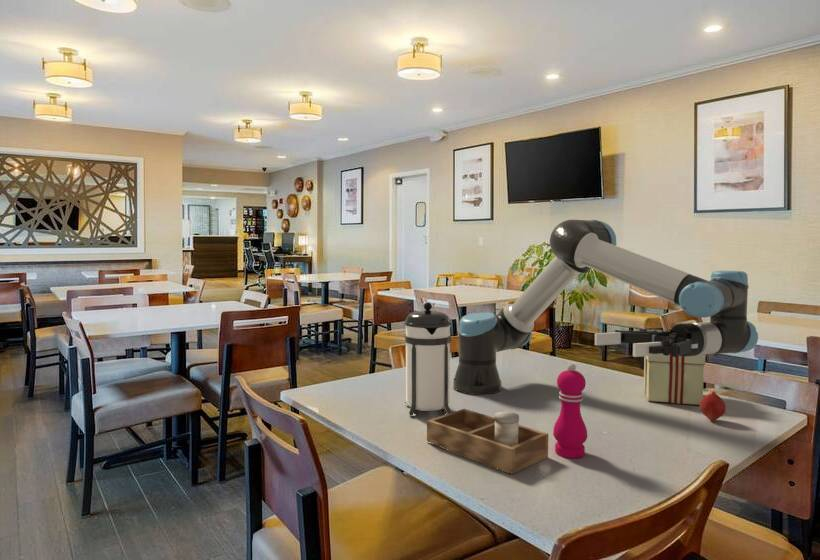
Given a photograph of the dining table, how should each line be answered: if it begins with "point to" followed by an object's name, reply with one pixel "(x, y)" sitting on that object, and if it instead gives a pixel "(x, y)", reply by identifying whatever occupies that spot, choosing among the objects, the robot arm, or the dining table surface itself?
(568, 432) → the pepper mill
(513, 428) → the caddy
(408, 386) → the coffee press
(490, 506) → the dining table surface
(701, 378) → the gift box
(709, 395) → the onion
